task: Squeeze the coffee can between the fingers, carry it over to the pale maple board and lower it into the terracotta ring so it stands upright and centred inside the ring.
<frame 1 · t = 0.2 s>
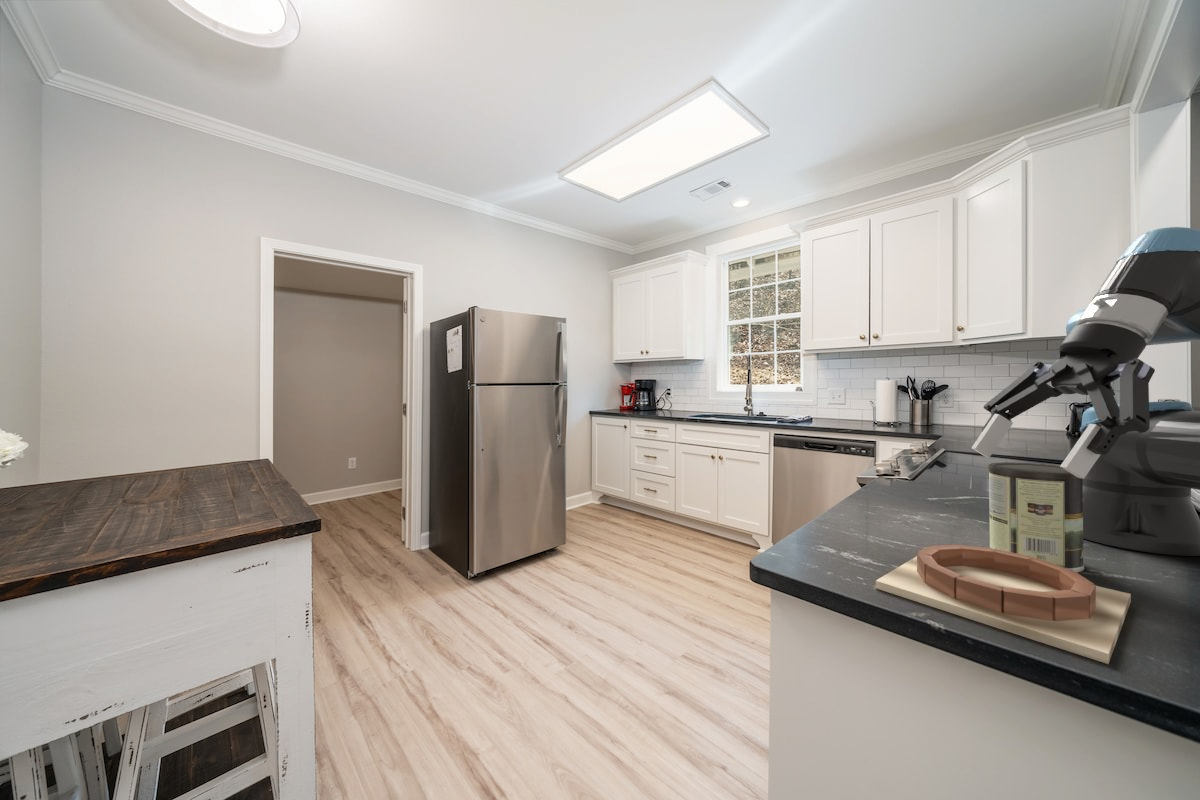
hand: (1020, 461, 62), 15 cm above the countertop, tool tilted 35°, fingers open, 13 cm apart
ring holder: (997, 594, 55), on the countertop
coffee can: (1033, 560, 66), on the countertop
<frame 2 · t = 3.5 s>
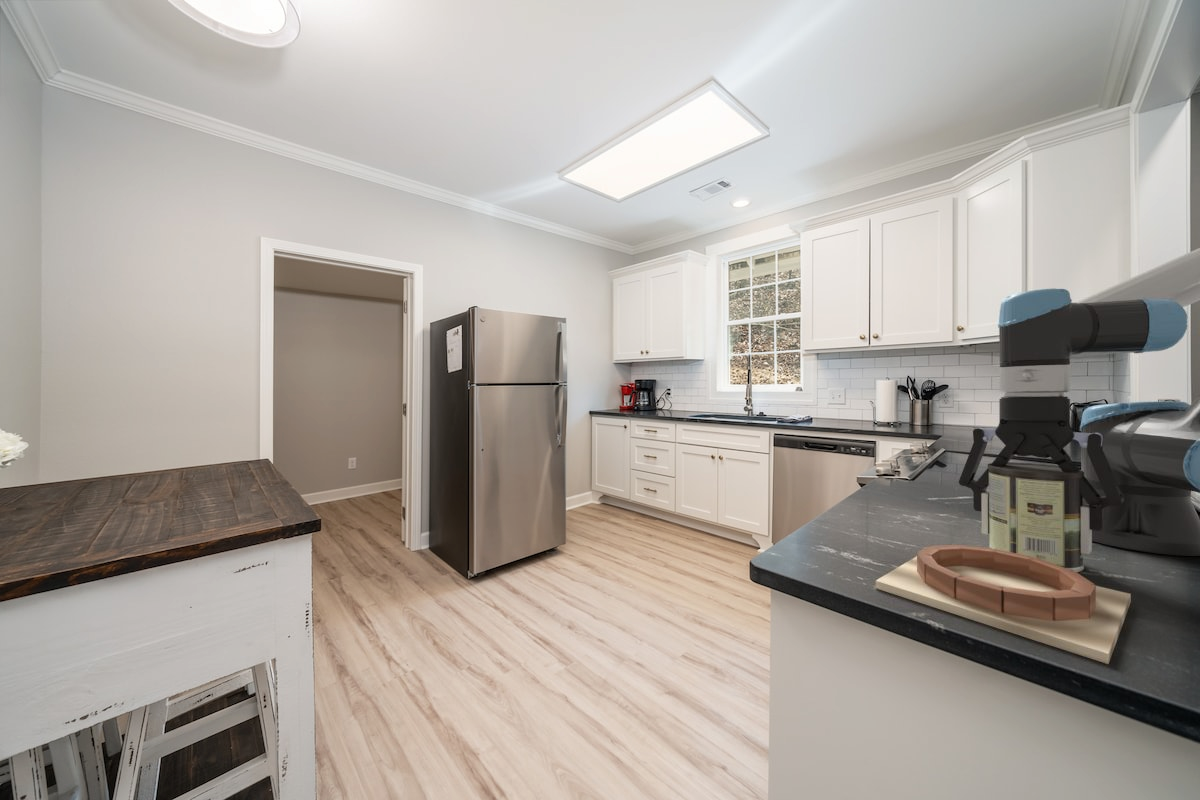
hand: (1033, 541, 66), 3 cm above the countertop, tool pointing down, fingers closed on coffee can, 10 cm apart
coffee can: (1033, 560, 66), on the countertop, touching gripper
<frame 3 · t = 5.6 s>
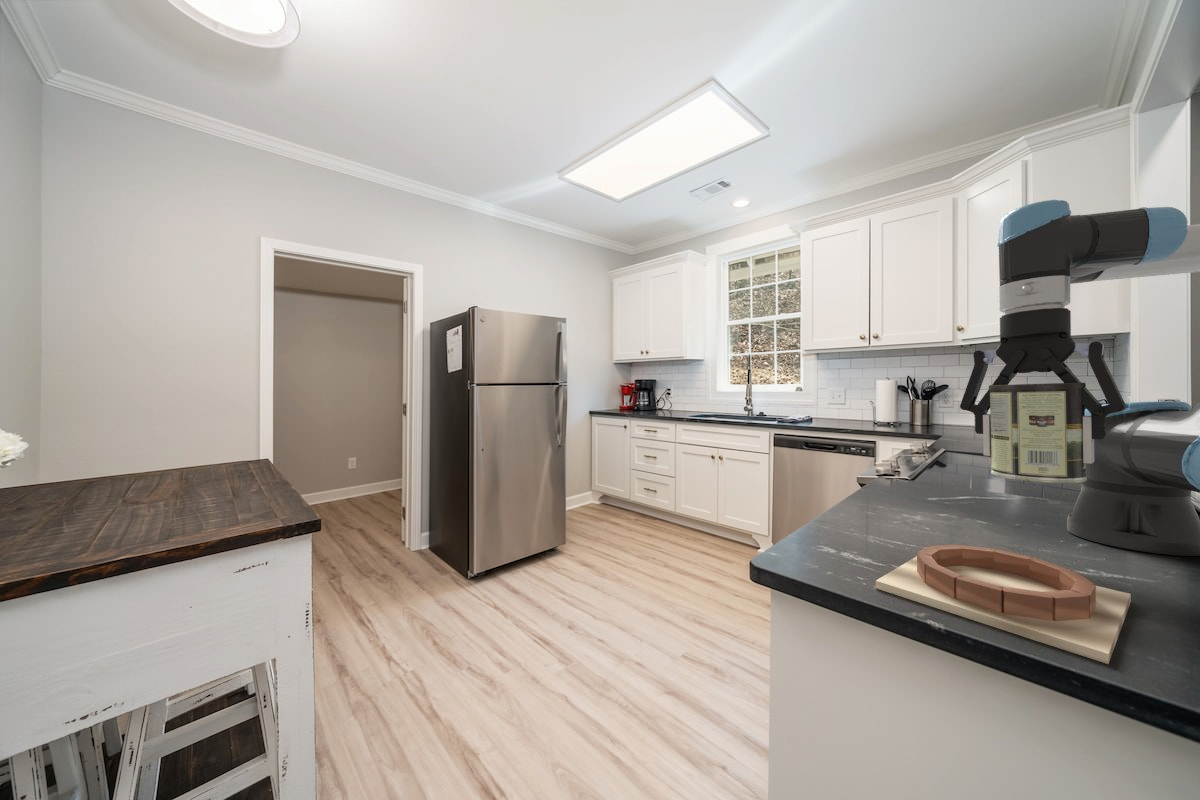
hand: (1035, 458, 65), 15 cm above the countertop, tool pointing down, fingers closed on coffee can, 10 cm apart
coffee can: (1035, 478, 65), point 12 cm above the countertop, touching gripper
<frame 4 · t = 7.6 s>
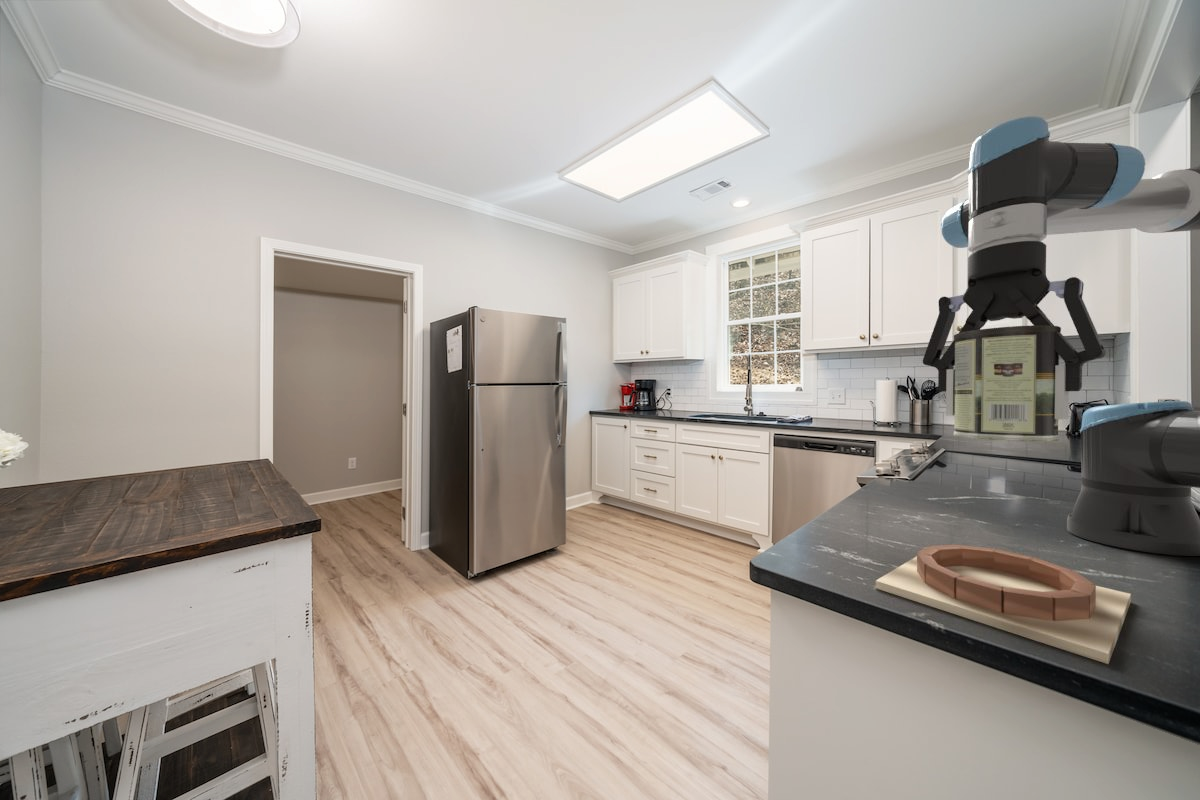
hand: (1002, 416, 57), 22 cm above the countertop, tool pointing down, fingers closed on coffee can, 10 cm apart
coffee can: (1002, 439, 57), point 19 cm above the countertop, touching gripper
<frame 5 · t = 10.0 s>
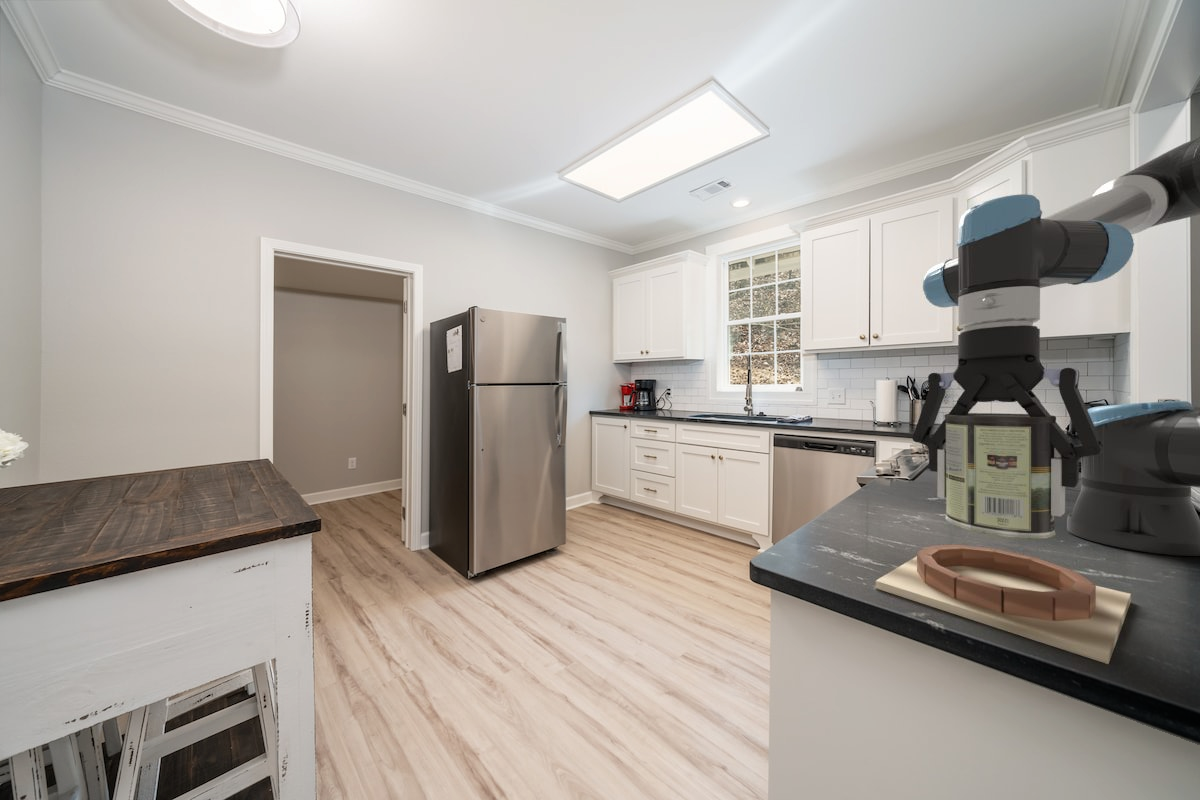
hand: (996, 504, 54), 11 cm above the countertop, tool pointing down, fingers closed on coffee can, 10 cm apart
coffee can: (996, 527, 55), point 9 cm above the countertop, touching gripper
when the fingers open (6 cm above the countertop, at t = 12.1 s): coffee can drops 2 cm, resting on ring holder.
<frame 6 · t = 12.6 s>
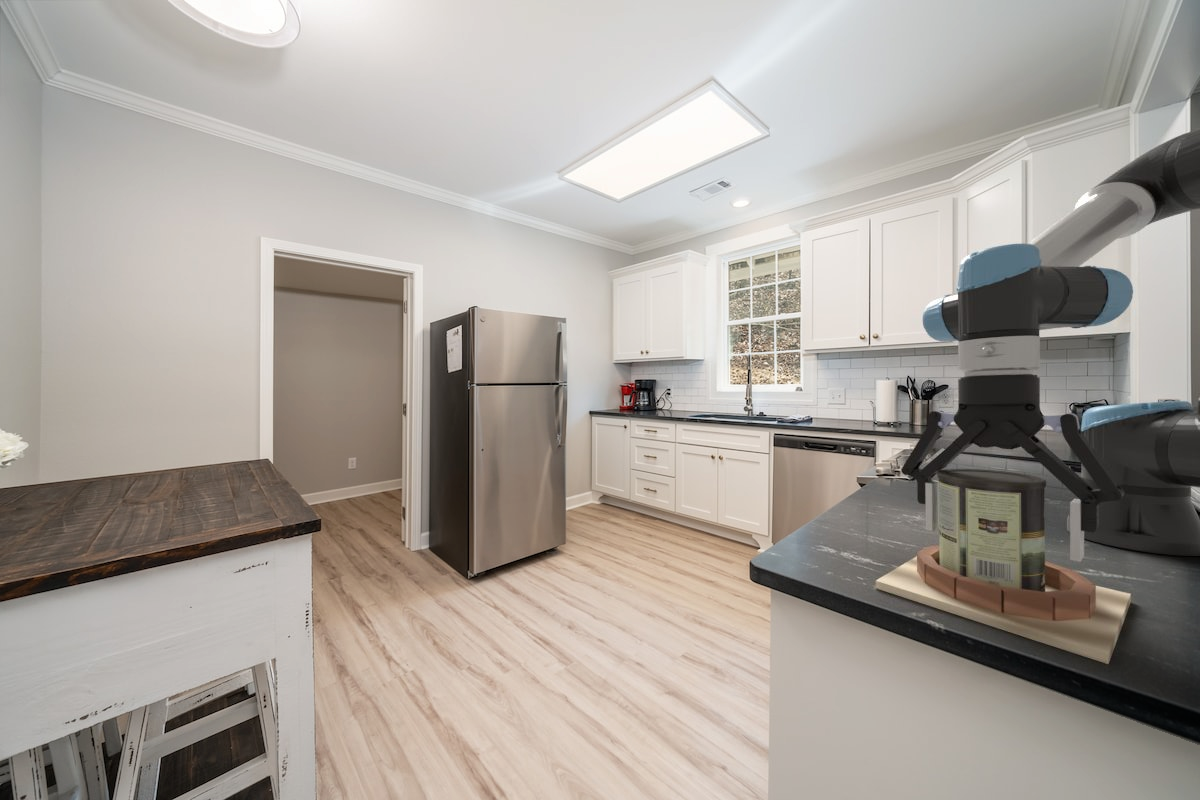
hand: (997, 542, 55), 7 cm above the countertop, tool pointing down, fingers open, 13 cm apart
coffee can: (988, 586, 55), point 1 cm above the countertop, touching ring holder
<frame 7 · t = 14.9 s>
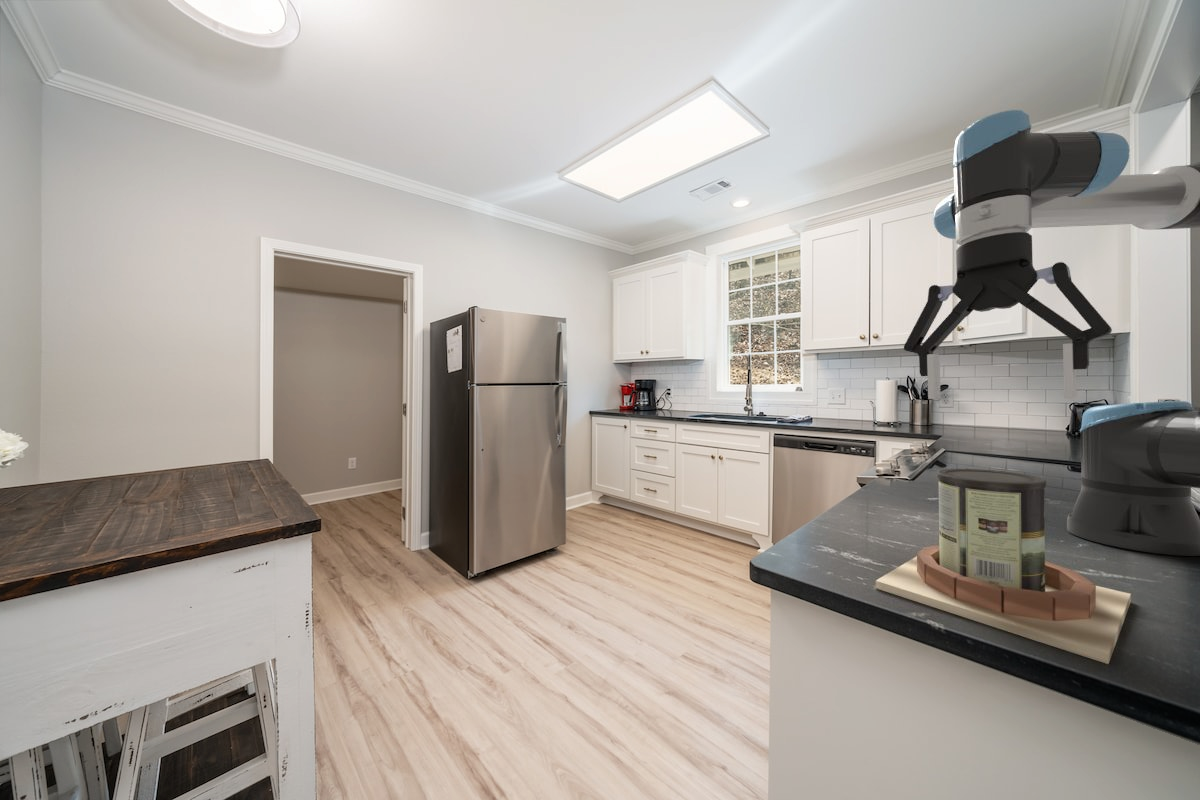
hand: (995, 398, 58), 25 cm above the countertop, tool pointing down, fingers open, 13 cm apart
nothing on the countertop moved.
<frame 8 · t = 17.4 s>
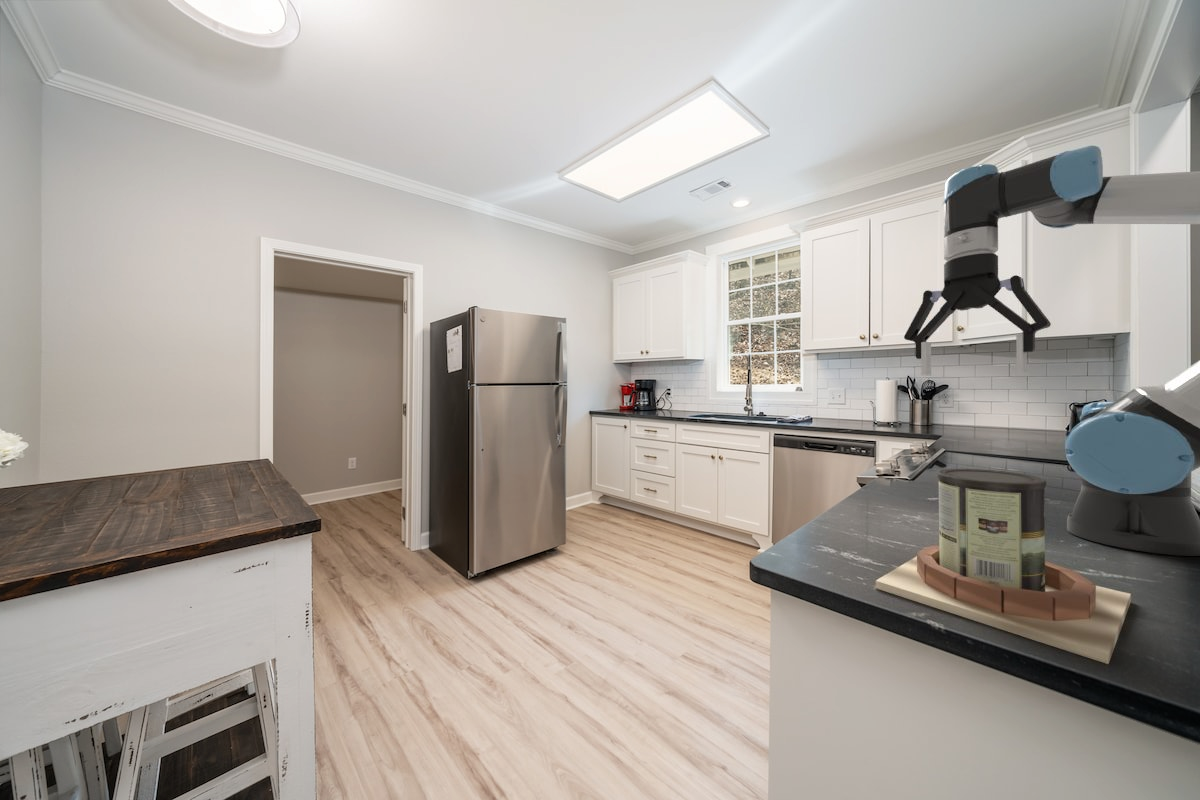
hand: (970, 374, 79), 29 cm above the countertop, tool pointing down, fingers open, 13 cm apart
nothing on the countertop moved.
at the end: coffee can 0.9 cm off-centre on the ring holder, point 0.8 cm above the ring holder's base; coffee can tilted 0°; the gripper is holding nothing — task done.
